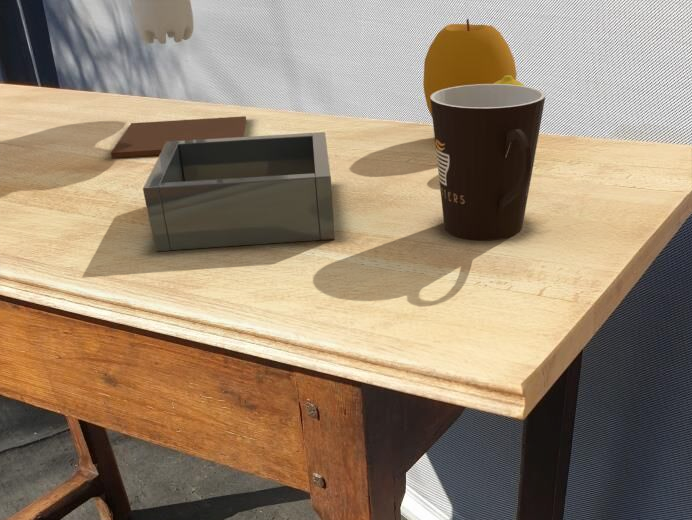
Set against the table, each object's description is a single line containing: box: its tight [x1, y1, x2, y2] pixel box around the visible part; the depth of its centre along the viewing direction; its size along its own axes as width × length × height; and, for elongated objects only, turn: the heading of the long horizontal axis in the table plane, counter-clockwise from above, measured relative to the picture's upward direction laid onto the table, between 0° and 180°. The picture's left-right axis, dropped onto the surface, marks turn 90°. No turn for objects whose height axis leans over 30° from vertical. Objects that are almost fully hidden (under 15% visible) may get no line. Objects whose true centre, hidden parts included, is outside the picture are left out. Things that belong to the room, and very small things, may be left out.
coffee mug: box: [430, 84, 546, 241], centre depth 64 cm, size 12×9×10 cm
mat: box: [110, 115, 247, 159], centre depth 96 cm, size 14×14×1 cm
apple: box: [422, 18, 518, 117], centre depth 88 cm, size 10×10×12 cm
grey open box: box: [142, 131, 336, 252], centre depth 71 cm, size 14×14×5 cm
